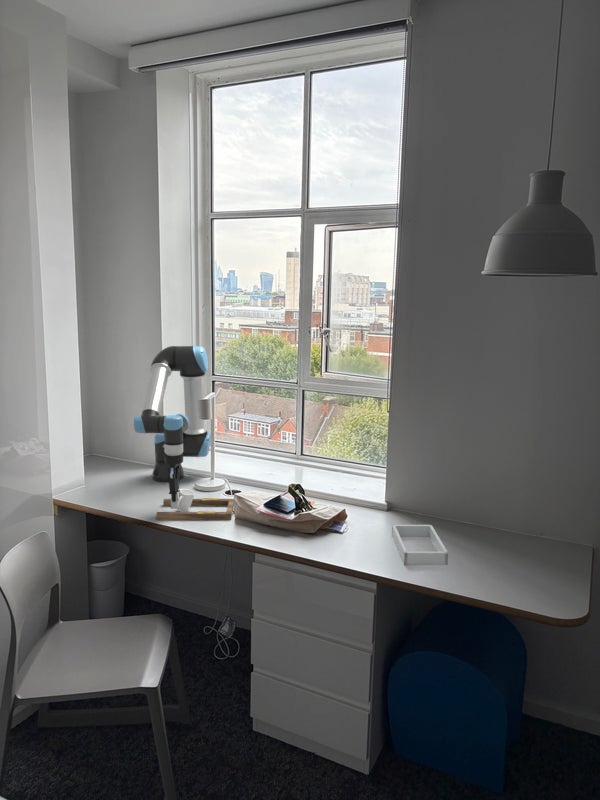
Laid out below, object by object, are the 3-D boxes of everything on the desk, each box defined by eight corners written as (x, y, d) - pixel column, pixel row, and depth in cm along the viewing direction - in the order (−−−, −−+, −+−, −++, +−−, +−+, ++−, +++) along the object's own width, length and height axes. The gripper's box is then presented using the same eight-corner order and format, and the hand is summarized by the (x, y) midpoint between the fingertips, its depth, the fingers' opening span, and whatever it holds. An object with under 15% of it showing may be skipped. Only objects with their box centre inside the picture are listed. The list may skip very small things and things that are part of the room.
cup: (195, 509, 259) (198, 491, 257) (184, 516, 249) (187, 498, 248) (180, 504, 260) (183, 487, 259) (168, 511, 251) (171, 493, 249)
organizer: (391, 535, 233) (392, 524, 232) (430, 535, 233) (431, 524, 232) (404, 565, 209) (404, 553, 209) (447, 564, 210) (448, 552, 209)
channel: (164, 504, 263) (164, 498, 263) (234, 504, 264) (234, 498, 263) (156, 519, 246) (156, 513, 246) (231, 519, 247) (230, 513, 247)
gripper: (167, 448, 256) (168, 502, 260) (161, 457, 243) (162, 513, 248) (185, 449, 256) (186, 502, 260) (180, 457, 243) (180, 514, 248)
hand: (174, 508), depth 254 cm, fingers closed
